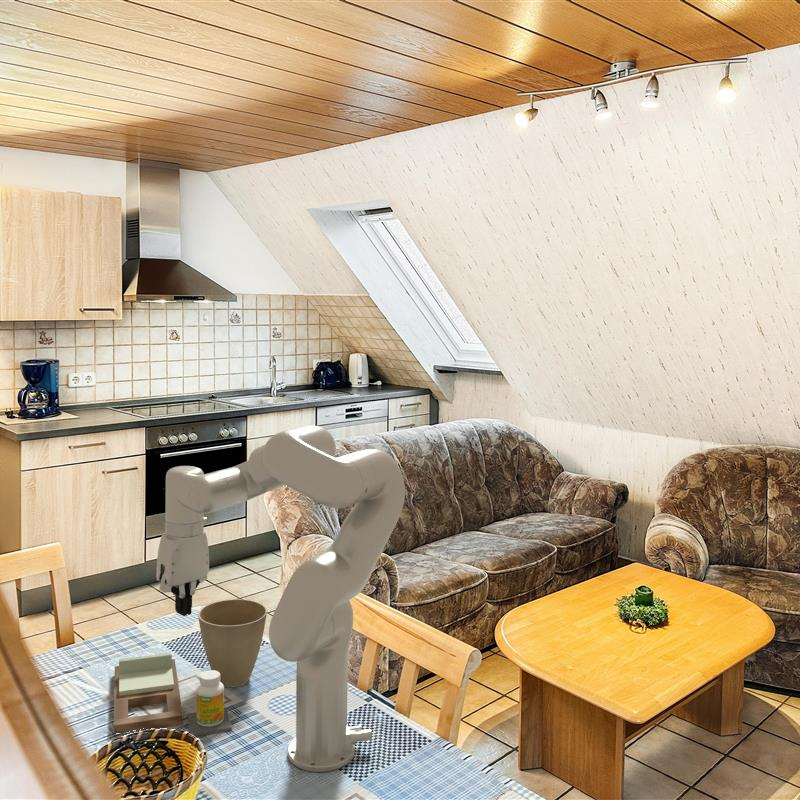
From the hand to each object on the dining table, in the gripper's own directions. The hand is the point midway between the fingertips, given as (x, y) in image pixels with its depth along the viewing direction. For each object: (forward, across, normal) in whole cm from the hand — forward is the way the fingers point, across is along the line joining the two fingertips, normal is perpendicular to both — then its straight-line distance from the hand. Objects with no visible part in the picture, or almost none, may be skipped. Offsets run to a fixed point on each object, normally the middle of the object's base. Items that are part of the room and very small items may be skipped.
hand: (183, 613), depth 163 cm
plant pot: (+20, -14, -1) cm, 25 cm away
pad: (+20, +1, +10) cm, 22 cm away
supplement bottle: (+19, +1, +10) cm, 22 cm away
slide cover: (+18, +2, -10) cm, 21 cm away
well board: (+20, +4, -8) cm, 22 cm away
